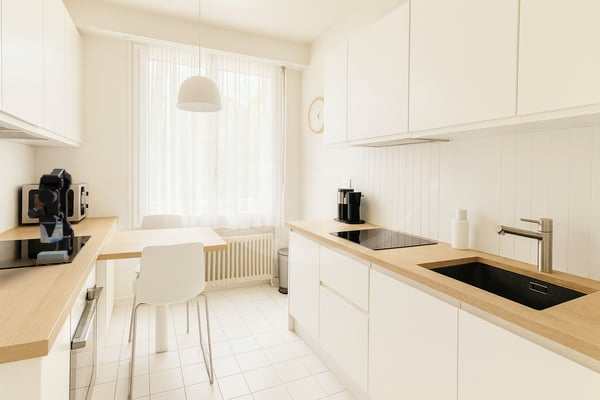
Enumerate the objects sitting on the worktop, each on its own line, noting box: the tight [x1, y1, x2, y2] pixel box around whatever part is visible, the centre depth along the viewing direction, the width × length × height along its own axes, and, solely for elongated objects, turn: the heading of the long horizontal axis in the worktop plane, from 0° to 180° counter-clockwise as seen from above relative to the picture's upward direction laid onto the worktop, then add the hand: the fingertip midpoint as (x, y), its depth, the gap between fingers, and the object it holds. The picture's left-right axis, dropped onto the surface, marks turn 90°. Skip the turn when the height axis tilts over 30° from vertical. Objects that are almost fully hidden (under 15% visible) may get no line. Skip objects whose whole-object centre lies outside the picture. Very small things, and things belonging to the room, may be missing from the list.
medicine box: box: [39, 222, 63, 244], centre depth 150 cm, size 8×4×9 cm, turn 179°
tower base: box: [35, 255, 70, 265], centre depth 151 cm, size 7×11×2 cm, turn 117°
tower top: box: [36, 250, 68, 260], centre depth 151 cm, size 6×10×2 cm, turn 114°
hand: (52, 235), depth 150 cm, fingers closed on medicine box, 9 cm apart
